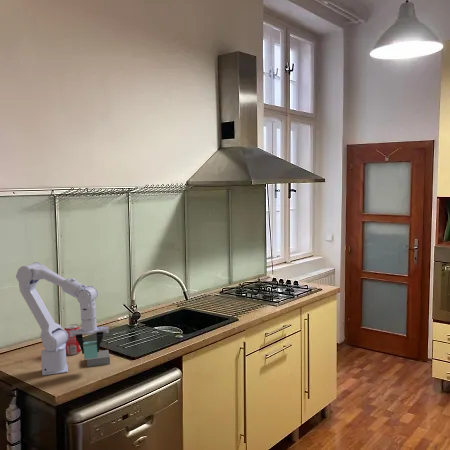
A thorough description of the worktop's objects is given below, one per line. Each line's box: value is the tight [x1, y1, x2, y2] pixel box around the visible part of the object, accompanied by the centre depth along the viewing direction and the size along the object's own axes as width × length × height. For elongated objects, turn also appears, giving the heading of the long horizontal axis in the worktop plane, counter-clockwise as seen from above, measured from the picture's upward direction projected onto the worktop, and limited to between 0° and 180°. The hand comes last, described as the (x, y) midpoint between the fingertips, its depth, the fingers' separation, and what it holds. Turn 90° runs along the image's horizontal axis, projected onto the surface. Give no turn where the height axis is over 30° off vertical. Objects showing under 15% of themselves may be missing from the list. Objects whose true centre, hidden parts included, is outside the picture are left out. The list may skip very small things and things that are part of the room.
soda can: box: [63, 323, 82, 356], centre depth 221 cm, size 7×7×12 cm
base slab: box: [86, 349, 111, 368], centre depth 210 cm, size 9×9×3 cm
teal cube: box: [83, 340, 98, 360], centre depth 198 cm, size 5×5×5 cm
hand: (90, 352), depth 198 cm, fingers closed on teal cube, 5 cm apart
